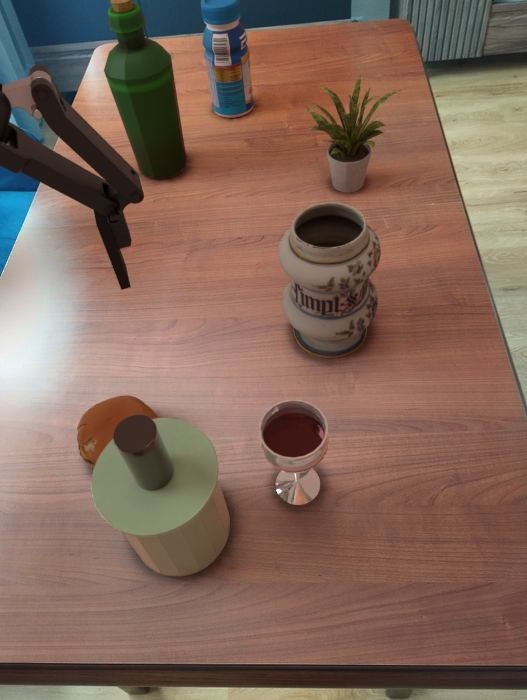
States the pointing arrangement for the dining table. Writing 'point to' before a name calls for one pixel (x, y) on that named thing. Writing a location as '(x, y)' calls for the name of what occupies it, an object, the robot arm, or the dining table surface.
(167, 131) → the bottle
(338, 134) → the house plant
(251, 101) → the beverage bottle
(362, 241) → the apothecary jar
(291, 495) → the wineglass
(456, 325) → the dining table surface
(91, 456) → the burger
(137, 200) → the robot arm
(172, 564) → the canister
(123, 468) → the lid
